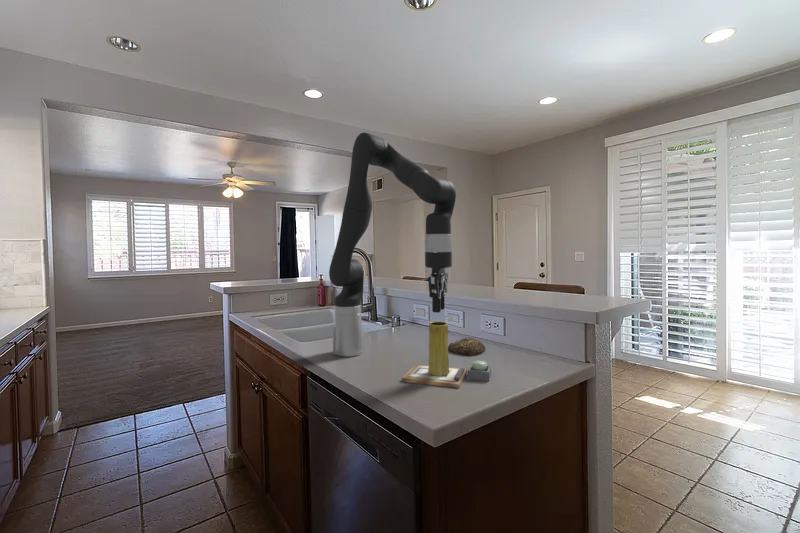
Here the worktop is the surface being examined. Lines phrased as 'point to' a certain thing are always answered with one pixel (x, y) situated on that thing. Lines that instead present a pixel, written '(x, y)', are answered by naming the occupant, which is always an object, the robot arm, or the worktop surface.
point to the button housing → (479, 374)
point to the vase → (438, 349)
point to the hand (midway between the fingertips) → (438, 310)
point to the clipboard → (423, 377)
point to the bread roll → (467, 347)
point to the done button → (480, 365)
